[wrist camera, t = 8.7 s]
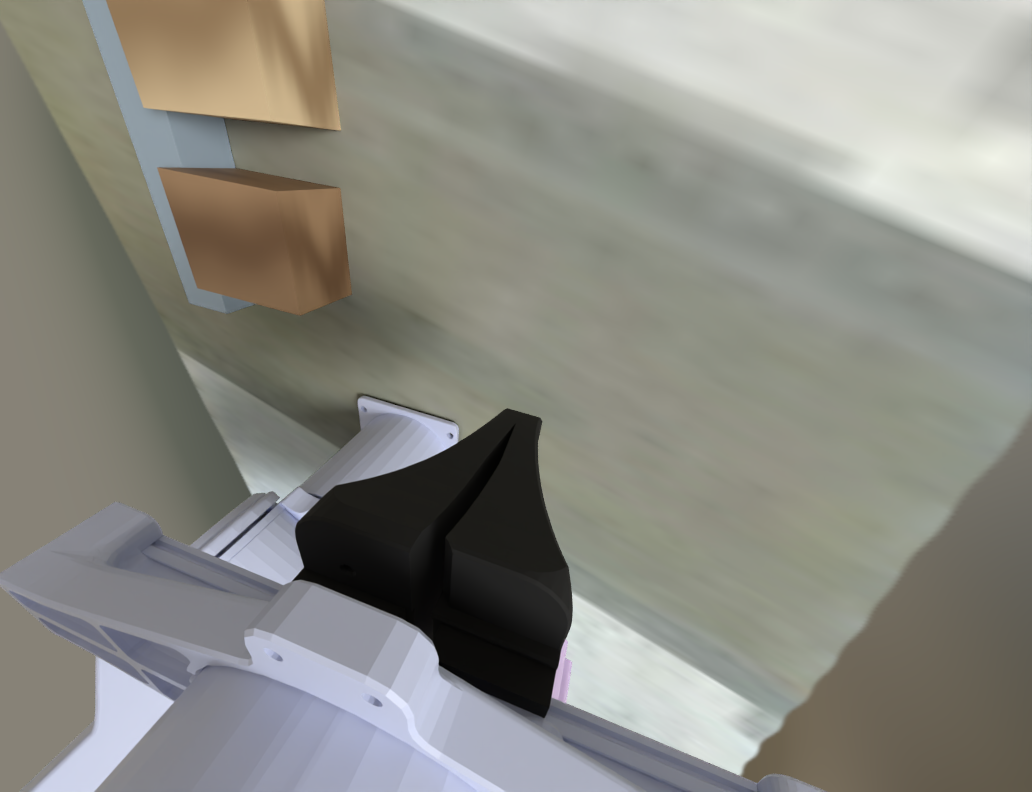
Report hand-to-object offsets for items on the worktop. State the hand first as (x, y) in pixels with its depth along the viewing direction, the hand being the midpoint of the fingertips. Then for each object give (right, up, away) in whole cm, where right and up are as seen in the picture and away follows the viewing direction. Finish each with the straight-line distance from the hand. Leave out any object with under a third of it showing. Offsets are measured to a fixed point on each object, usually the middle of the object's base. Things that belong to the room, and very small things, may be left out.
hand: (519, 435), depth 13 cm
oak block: (-12, +18, +5) cm, 23 cm away
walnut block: (-13, +11, +10) cm, 20 cm away
